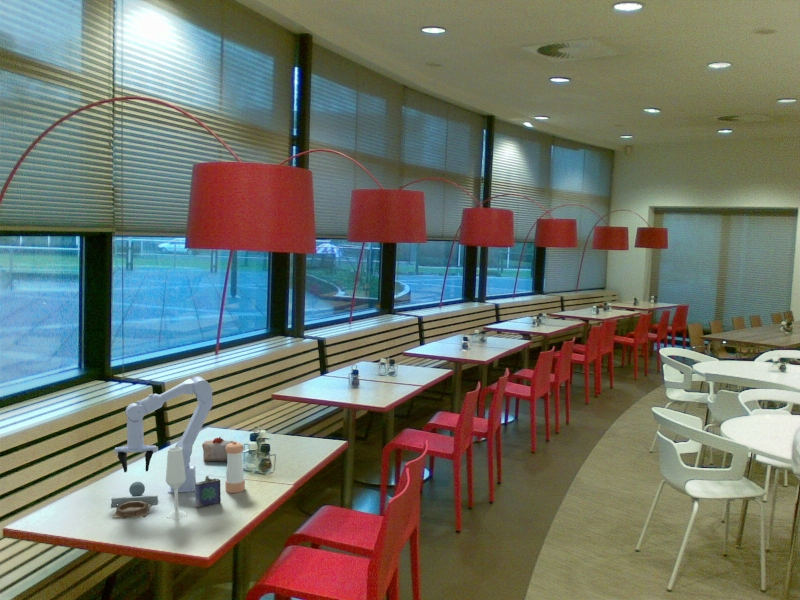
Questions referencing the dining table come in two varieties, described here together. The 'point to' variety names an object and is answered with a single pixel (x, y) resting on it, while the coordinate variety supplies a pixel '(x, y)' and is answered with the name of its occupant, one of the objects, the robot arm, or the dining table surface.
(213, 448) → the food item
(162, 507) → the dining table surface
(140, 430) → the robot arm
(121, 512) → the ring cradle
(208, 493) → the flask
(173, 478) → the champagne flute
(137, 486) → the ball
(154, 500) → the grey bar
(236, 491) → the pepper shaker
